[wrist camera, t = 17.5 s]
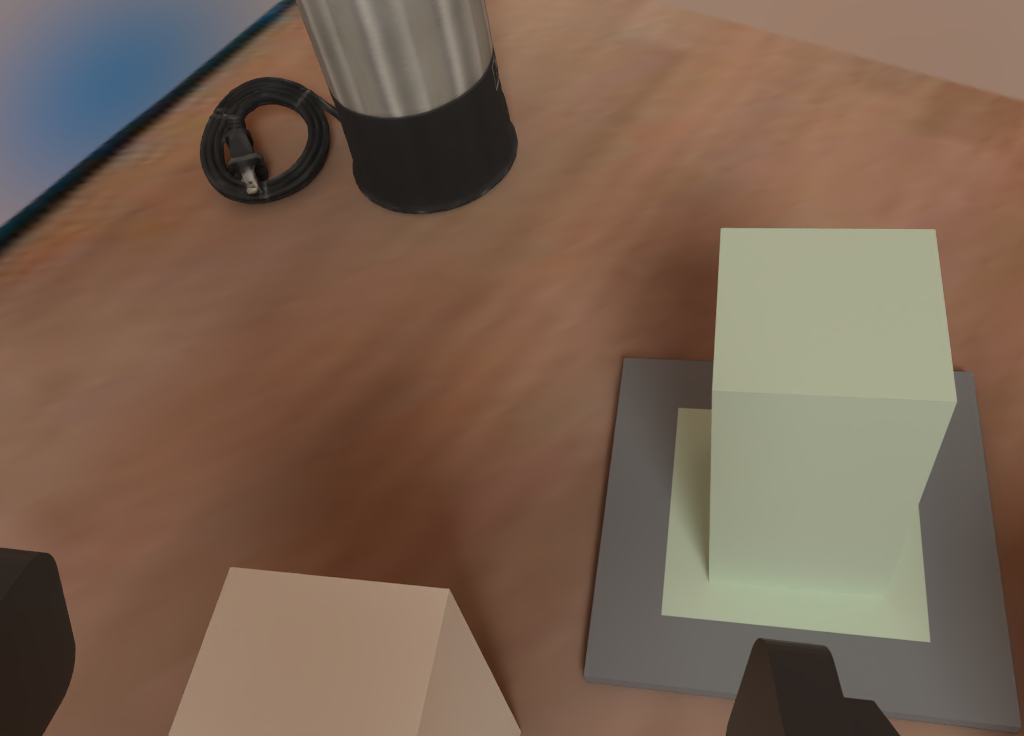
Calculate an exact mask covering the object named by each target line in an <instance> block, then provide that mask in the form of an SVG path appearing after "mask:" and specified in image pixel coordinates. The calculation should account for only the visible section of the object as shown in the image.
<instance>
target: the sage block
mask: <svg viewBox="0 0 1024 736" xmlns="http://www.w3.org/2000/svg"><path fill="white" fill-rule="evenodd" d="M956 403H957V396H956V388H955V381H954V373H953V365H952V357H951V349H950V341H949V334H948V326H947V318H946V310H945V302H944V295H943V287H942V279H941V271H940V263H939V255H938V248H937V240H936V232H935V230H934V229H794V228H721V235H720V254H719V272H718V291H717V309H716V328H715V347H714V365H713V384H712V426H711V483H710V539H709V581H711V582H722V583H733V584H744V585H755V586H767V587H778V588H789V589H800V590H812V591H823V592H834V593H845V594H857V595H868V596H879V597H884V595H885V592H886V590H887V587H888V584H889V582H890V579H891V576H892V574H893V571H894V568H895V566H896V563H897V560H898V558H899V555H900V553H901V550H902V547H903V545H904V542H905V539H906V537H907V534H908V531H909V529H910V526H911V523H912V521H913V518H914V515H915V513H916V510H917V507H918V505H919V502H920V499H921V497H922V494H923V491H924V489H925V486H926V483H927V481H928V478H929V475H930V473H931V470H932V467H933V465H934V462H935V459H936V457H937V454H938V451H939V449H940V446H941V443H942V441H943V438H944V435H945V433H946V430H947V427H948V425H949V422H950V419H951V417H952V414H953V411H954V409H955V406H956Z"/></svg>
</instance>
